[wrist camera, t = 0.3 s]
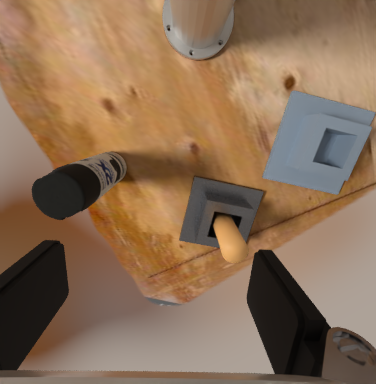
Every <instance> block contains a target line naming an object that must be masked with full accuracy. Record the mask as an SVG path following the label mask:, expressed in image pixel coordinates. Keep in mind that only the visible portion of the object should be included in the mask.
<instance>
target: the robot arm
mask: <svg viewBox="0 0 376 384" xmlns="http://www.w3.org/2000/svg"><path fill="white" fill-rule="evenodd" d="M234 2H235V0H165V1H164V5H163V15H162V16H163V26H164V31H165V34H166V37H167V39H168V41H169V42H170V44H171V46H172V47H173V48H174V49H175V50H176V51H177V52H178V53H179V54H180V55H182V56H184V57H185V58H188V59H191V60H205V59H207V58H210V57H212V56H214V55H215V54H217V53H218V52H219V51H220V50H221V49H222V48H223V47H224V45H225V44H226V42H227V41H228V39H229V36H230V34H231V32H232V28H233V24H234V7H233V5H234ZM168 29H170V31H168ZM219 43H220V44H221V45H219ZM190 53H192V54H193V55H190ZM68 293H69V289H68V280H67V270H66V262H65V252H64V245H63V244H61V243H60V241H53V240H45V241H43V242H41V243H40V244H39V245H38V246H36V247H35V248H34V249H33V250H31V251H30V252H29V253H28V254H26V255H25V256H24V257H22V258H21V259H20V260H18V261H17V262H16V263H15V264H13V265H12V266H11V267H9V268H8V269H7V270H6V271H4V272H3V273H2V274H1V275H0V384H376V349H375V348H374V347H373V346H372V345H371V344H370V343H369V342H368V341H366V340H365V339H364V338H363V337H361V336H360V335H358V334H356V333H354V332H352V331H350V330H347V329H344V328H340V327H335V328H331V327H330V326H329V325H328V323H327V322H326V319H325V318H324V317H323V315H322V314H321V313H320V312H319V310H318V309H317V308H316V306H315V305H314V304H313V303H312V301H311V300H310V299H309V297H308V296H307V295H306V294H305V292H304V291H303V290H302V289H301V287H300V286H299V285H298V284H297V282H296V281H295V280H294V278H293V277H292V276H291V274H290V273H289V272H288V271H287V269H286V268H285V267H284V265H283V264H282V263H281V262H280V260H279V259H278V258H277V257H276V255H275V254H274V253H273V251H272V250H259V251H258V252H256V253H255V254H254V259H253V265H252V270H251V276H250V282H249V287H248V293H247V304H248V306H249V309H250V311H251V314H252V317H253V319H254V321H255V324H256V327H257V329H258V332H259V334H260V337H261V340H262V342H263V345H264V347H265V350H266V352H267V355H268V357H269V360H270V363H271V365H272V368H273V370H274V373H275V374H257V373H211V372H210V373H208V372H148V371H143V372H142V371H41V370H38V371H37V370H33V371H32V370H17V369H18V368H19V366H20V365H21V363H22V362H23V360H24V359H25V357H26V356H27V355H28V353H29V352H30V350H31V349H32V347H33V346H34V345H35V343H36V342H37V340H38V339H39V337H40V336H41V335H42V333H43V331H44V330H45V329H46V327H47V326H48V324H49V323H50V322H51V320H52V319H53V317H54V316H55V314H56V313H57V312H58V310H59V308H60V307H61V306H62V304H63V303H64V301H65V300H66V298H67V296H68Z"/></svg>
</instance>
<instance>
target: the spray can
mask: <svg viewBox="0 0 376 384" xmlns="http://www.w3.org/2000/svg"><path fill="white" fill-rule="evenodd" d="M126 169H127V167H126V163H125V161H124V159H123V158H122V157H121V156H120V155H119V154H117V153H114V152H105V153H102V154H99V155H95V156H92V157H89V158H86V159H83V160H80V161H77V162H74V163H70V164H67V165H64V166H62V167H59V168H57V169H55V170H53V171H52V172H51V173H49V174H48V175H46V176H44V177H42V178H40V179H37V180H36V181H35V182H34V184H33V186H32V196H33V200H34V202H35V203H36V206H37V207H38V208H39V209H40V210H41V211H42V212H43V213H44V214H45V215H47V216H49V217H51V218H54V219H58V220H63V219H65V218H66V217H70V216H72V215H74V214H76V213H78V212H80V211H83V210H85V209H86V208H88V207H89V206H90V205H92V204H93V203H94V202H96V201H97V200H98V199H99V198H100V197H101V196H103V195H104V194H105V193H106V192H107V191H109V190H110V189H111V188H112V187H113V186H114V185H116V184H117V183H118V182H119V181H120V180H122V179H123V177H124V176H125V174H126Z"/></svg>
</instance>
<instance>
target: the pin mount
mask: <svg viewBox="0 0 376 384" xmlns="http://www.w3.org/2000/svg"><path fill="white" fill-rule="evenodd" d="M263 193H264V192H263V191H262V190H257V189H253V188H248V187H243V186H239V185H234V184H230V183H225V182H220V181H216V180H211V179H206V178H202V177H197V176H194V180H193V184H192V188H191V192H190V197H189V201H188V205H187V209H186V213H185V217H184V221H183V225H182V230H181V234H180V238H179V240H180V241H185V242H190V243H196V244H201V245H207V246H212V247H217V248H220V245H219V242H218V239H217V236H216V233H215V230H214V227H213V224H212V218H213V214H214V211H217V212H222V213H227V214H230V216H231V218H232V219H233V221H234V223H235V225H236V226H237V228H238V230H239V232H240V234H241V235H242V237H243V239H244V241H245V242H246V241H247V238H248V235H249V232H250V230H251V227H252V224H253V221H254V218H255V215H256V212H257V210H258V207H259V204H260V201H261V198H262V195H263Z"/></svg>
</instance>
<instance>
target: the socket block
mask: <svg viewBox="0 0 376 384" xmlns="http://www.w3.org/2000/svg"><path fill="white" fill-rule="evenodd" d="M374 116H375V112H372V111H368V110H364V109H361V108H357V107H353V106H350V105H346V104H342V103H338V102H335V101H331V100H327V99H324V98H320V97H316V96H313V95H309V94H305V93H301V92H298V91H291V94H290V97H289V100H288V103H287V106H286V109H285V112H284V115H283V118H282V121H281V124H280V127H279V130H278V132H277V135H276V138H275V141H274V144H273V147H272V150H271V153H270V156H269V159H268V162H267V165H266V168H265V171H264V173H263V176H262V177H263V178H265V179H270V180H274V181H279V182H283V183H288V184H292V185H296V186H301V187H305V188H310V189H314V190H319V191H323V192H328V193H332V194H337V195H338V193H339V191H340V189H341V187H342V185H343V182H344V180H346V181H347V180H348V178H349V176H350V174H351V172H352V170H353V168H354V165H355V163H356V161H357V159H358V157H359V155H360V153H361V151H362V148H363V146H364V144H365V142H366V140H367V138H368V136H369V133H370V131H371V129H372V127H370V124H371V122H372V120H373V118H374Z"/></svg>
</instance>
